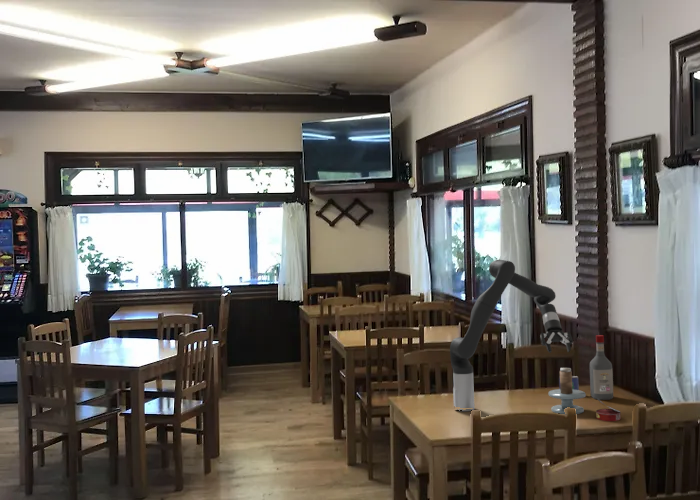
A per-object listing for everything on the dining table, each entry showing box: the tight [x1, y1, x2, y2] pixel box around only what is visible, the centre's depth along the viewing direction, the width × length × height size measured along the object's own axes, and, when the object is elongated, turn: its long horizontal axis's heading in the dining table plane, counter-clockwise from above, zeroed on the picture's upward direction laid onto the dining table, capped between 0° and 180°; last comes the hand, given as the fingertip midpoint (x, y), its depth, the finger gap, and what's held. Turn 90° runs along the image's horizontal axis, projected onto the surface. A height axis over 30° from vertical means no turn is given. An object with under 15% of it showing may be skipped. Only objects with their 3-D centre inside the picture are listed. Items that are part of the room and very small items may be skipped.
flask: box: [558, 375, 580, 390], centre depth 345 cm, size 9×3×11 cm, turn 78°
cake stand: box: [548, 388, 586, 415], centre depth 315 cm, size 16×16×8 cm
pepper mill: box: [559, 367, 573, 394], centre depth 315 cm, size 5×5×11 cm
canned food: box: [595, 399, 621, 422], centre depth 300 cm, size 11×10×10 cm
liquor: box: [589, 334, 614, 401], centre depth 336 cm, size 9×9×30 cm
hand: (559, 351), depth 324 cm, fingers open, 8 cm apart
